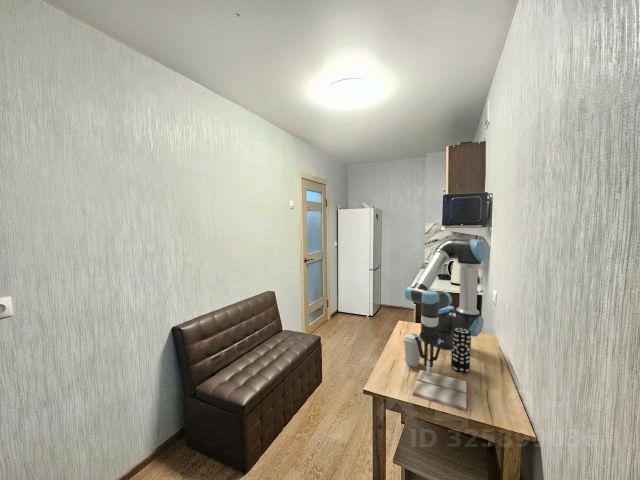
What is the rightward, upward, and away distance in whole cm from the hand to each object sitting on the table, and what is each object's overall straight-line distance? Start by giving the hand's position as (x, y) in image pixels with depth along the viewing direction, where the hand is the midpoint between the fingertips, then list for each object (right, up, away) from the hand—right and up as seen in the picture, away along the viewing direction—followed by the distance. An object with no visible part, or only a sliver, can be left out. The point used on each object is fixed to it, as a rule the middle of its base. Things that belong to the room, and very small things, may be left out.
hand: (428, 372), depth 128 cm
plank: (+4, -2, -5) cm, 7 cm away
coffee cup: (-3, -2, +13) cm, 13 cm away
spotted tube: (+19, -2, +7) cm, 21 cm away
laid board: (-1, -3, -14) cm, 14 cm away
